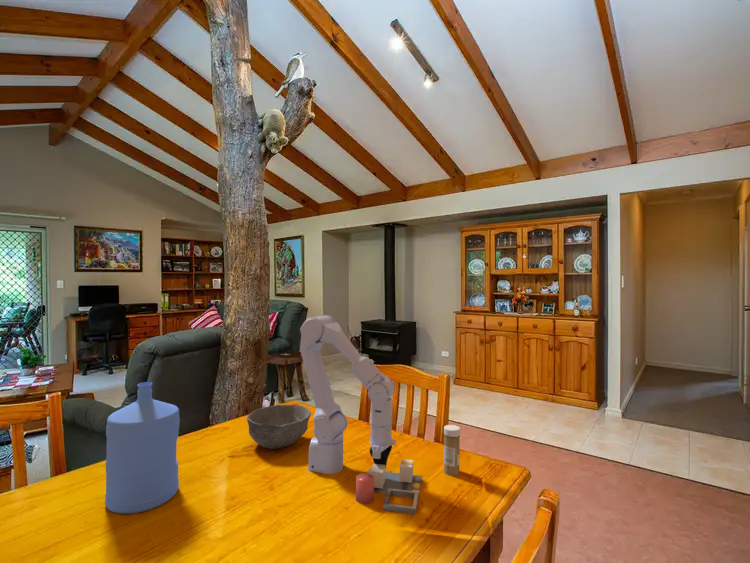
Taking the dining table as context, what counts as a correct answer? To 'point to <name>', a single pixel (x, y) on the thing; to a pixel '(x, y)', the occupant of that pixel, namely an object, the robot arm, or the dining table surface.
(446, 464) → the sprinkles bottle
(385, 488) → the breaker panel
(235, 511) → the dining table surface
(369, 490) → the cap
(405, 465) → the toggle
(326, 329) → the robot arm
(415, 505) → the frame
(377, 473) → the toggle
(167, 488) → the water jug
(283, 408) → the bowl
